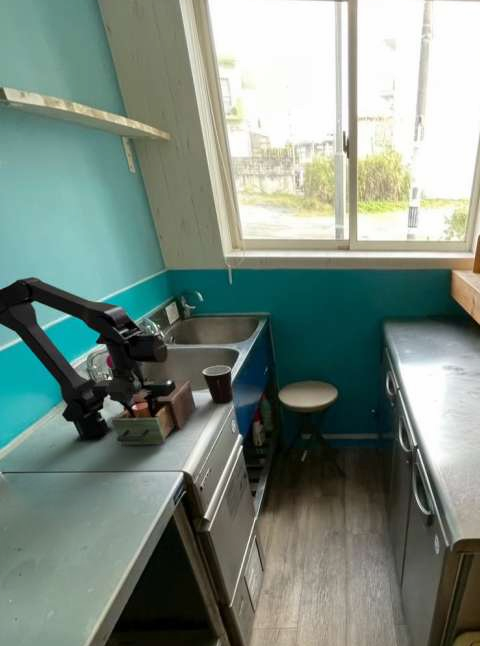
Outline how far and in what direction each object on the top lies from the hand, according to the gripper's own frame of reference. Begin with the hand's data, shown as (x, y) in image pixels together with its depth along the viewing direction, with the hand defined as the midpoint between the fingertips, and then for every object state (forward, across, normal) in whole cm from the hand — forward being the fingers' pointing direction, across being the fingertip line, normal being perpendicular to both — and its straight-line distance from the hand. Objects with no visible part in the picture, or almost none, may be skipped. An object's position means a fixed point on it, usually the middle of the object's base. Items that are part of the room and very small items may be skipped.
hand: (145, 417), depth 105 cm
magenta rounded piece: (+6, -12, +17) cm, 22 cm away
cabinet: (+6, 0, +11) cm, 13 cm away
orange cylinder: (+2, 0, 0) cm, 2 cm away
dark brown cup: (+6, +13, +23) cm, 28 cm away
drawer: (+5, 0, -1) cm, 5 cm away
